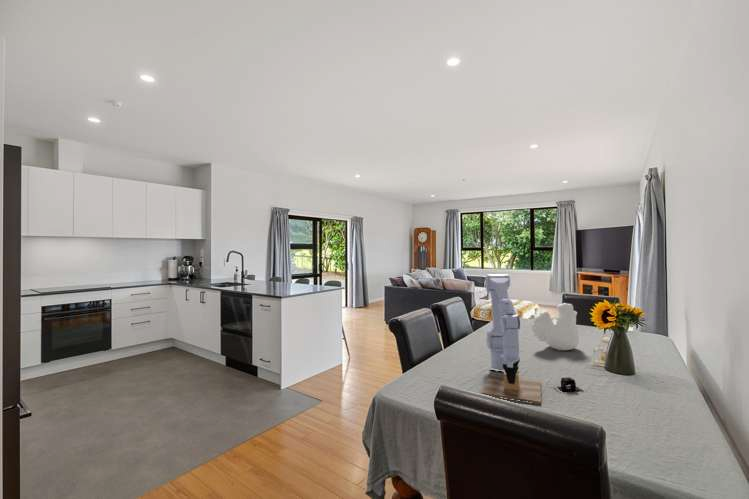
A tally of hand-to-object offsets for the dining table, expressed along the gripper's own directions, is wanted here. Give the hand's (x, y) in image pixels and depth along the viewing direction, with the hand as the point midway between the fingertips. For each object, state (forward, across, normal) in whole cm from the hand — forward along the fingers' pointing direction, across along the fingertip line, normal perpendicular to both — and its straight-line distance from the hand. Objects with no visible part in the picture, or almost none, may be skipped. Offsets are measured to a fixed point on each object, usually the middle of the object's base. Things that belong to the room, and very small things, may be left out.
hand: (512, 380), depth 131 cm
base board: (+4, 0, 0) cm, 4 cm away
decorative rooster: (+4, -66, +17) cm, 68 cm away
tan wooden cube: (+3, 0, 0) cm, 3 cm away
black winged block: (+5, -9, +20) cm, 22 cm away
